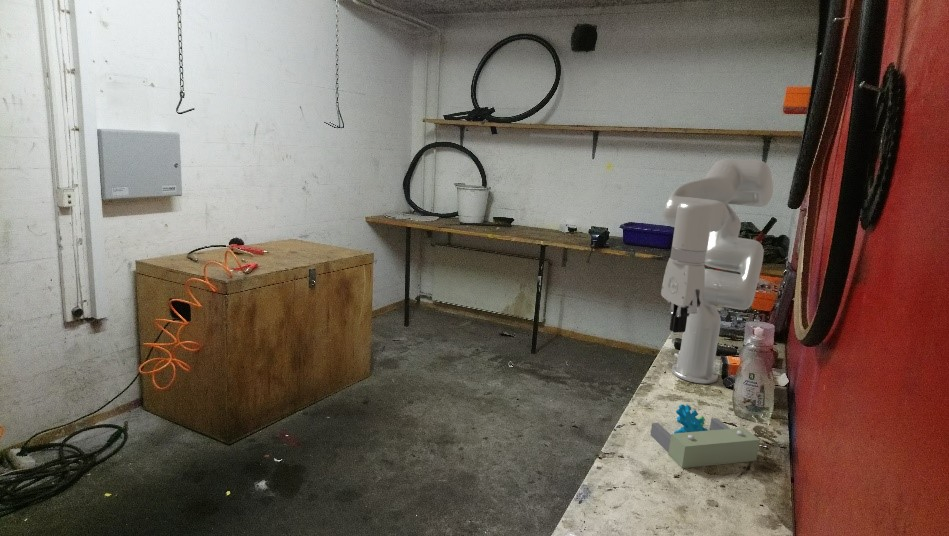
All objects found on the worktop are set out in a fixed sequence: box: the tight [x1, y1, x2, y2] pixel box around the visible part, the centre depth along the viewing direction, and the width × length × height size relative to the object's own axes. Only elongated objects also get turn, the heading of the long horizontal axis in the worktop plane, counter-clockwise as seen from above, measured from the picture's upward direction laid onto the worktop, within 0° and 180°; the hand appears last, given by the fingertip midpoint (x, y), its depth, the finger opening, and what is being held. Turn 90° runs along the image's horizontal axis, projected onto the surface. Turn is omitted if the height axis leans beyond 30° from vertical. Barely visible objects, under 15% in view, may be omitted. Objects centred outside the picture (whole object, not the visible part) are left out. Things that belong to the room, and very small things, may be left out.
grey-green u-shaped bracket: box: [650, 417, 761, 469], centre depth 121 cm, size 13×18×6 cm
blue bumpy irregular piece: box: [673, 404, 709, 434], centre depth 125 cm, size 11×6×10 cm
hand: (677, 331), depth 130 cm, fingers closed
